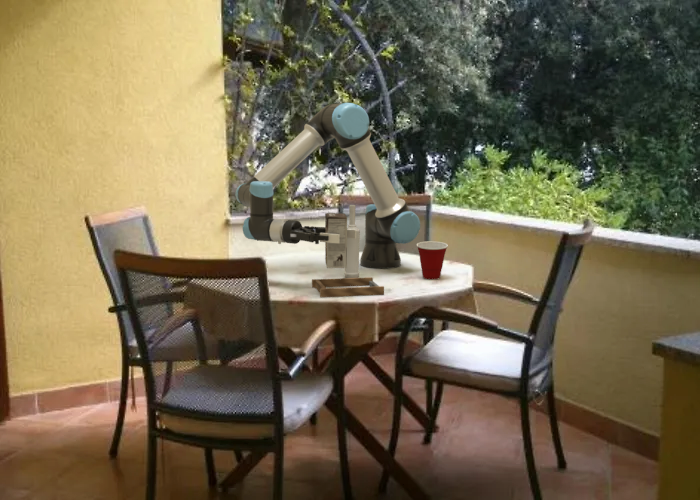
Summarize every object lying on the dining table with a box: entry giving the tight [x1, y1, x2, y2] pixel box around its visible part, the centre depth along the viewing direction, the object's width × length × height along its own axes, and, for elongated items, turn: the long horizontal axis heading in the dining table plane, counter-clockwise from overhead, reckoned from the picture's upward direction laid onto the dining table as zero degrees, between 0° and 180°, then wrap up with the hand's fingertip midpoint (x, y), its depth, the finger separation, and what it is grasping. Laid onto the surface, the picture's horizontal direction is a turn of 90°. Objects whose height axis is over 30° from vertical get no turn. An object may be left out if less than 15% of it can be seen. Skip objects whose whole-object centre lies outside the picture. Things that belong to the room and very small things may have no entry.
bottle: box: [343, 204, 361, 278], centre depth 271 cm, size 5×5×25 cm
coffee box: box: [324, 212, 348, 269], centre depth 249 cm, size 9×6×16 cm
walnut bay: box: [311, 276, 385, 298], centre depth 252 cm, size 20×15×2 cm
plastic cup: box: [415, 240, 449, 280], centre depth 273 cm, size 11×11×12 cm
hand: (347, 236), depth 247 cm, fingers closed on coffee box, 11 cm apart
